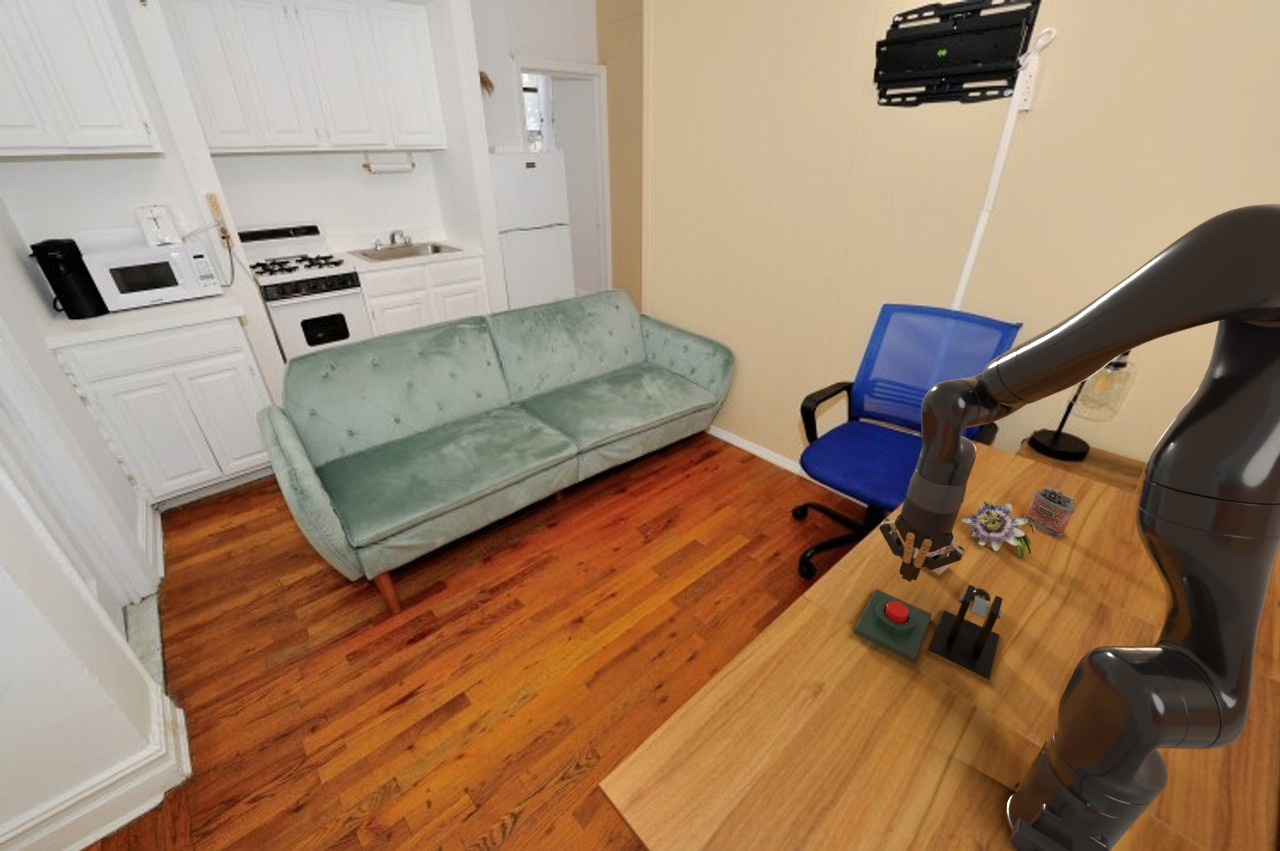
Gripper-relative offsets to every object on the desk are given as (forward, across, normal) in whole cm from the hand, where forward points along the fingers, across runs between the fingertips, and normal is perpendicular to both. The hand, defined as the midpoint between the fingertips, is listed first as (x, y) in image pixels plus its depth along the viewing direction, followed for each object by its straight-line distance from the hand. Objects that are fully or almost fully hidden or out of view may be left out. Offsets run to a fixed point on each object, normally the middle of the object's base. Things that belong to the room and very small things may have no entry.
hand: (907, 577), depth 87 cm
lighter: (+13, +19, +52) cm, 57 cm away
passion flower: (+13, +11, +39) cm, 42 cm away
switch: (+7, +11, +7) cm, 15 cm away
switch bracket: (+13, +11, +4) cm, 17 cm away
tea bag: (+13, +1, +22) cm, 25 cm away
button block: (+13, 0, 0) cm, 13 cm away
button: (+9, 0, 0) cm, 9 cm away
